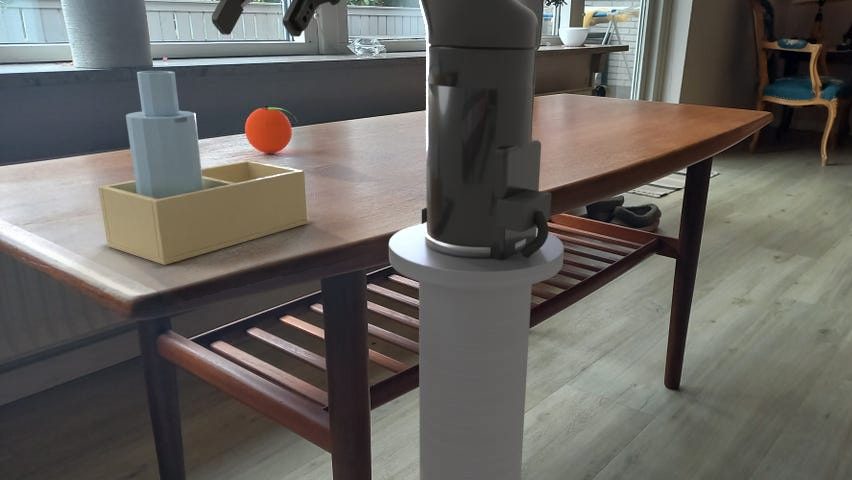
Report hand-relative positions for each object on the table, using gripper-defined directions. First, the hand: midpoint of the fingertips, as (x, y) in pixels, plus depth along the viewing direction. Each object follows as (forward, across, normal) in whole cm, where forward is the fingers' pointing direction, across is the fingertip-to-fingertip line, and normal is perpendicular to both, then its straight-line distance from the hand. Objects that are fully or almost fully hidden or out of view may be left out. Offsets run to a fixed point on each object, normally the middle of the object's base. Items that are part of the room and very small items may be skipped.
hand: (254, 29), depth 67 cm
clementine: (-7, -23, +34) cm, 42 cm away
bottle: (+21, -1, +4) cm, 22 cm away
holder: (+19, 0, +7) cm, 20 cm away
